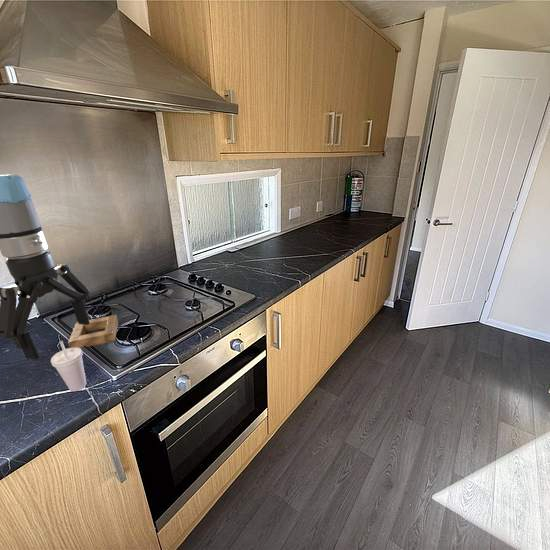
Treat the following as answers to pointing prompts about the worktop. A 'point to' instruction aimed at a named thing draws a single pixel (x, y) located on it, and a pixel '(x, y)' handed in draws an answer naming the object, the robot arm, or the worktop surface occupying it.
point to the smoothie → (70, 367)
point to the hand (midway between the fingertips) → (60, 339)
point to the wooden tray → (92, 339)
